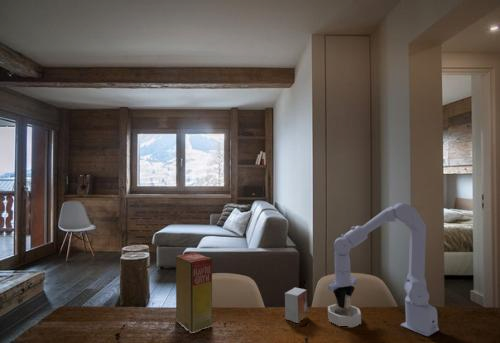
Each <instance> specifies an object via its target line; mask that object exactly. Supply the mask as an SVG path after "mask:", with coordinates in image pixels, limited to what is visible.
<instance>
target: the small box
mask: <svg viewBox="0 0 500 343" xmlns="http://www.w3.org/2000/svg"><path fill="white" fill-rule="evenodd" d="M284 312H285V314H284V316H285V319H287V320H291V321H293V322H296V323H299V322H300V321H301V320H303V319H304V318H305V317H306V316H308V290H307V289H305V288H299V287H293V288H292V289H290V290H288V291H286V292H284ZM305 319H306V318H305ZM305 319H304V320H305ZM304 320H303V321H304ZM300 323H301V322H300ZM300 323H299V324H300Z"/></svg>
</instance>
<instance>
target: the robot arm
mask: <svg viewBox="0 0 500 343" xmlns="http://www.w3.org/2000/svg"><path fill="white" fill-rule="evenodd" d="M396 219H397V220H399V221H400V222H402V223H403V224H404V225H405V226H406V227H407V228H408V229H409V248H408V249H409V250H408V252H409V253H408V254H409V255H408V273H407V274H406V280H405V282H404V284H403V290H404V291H405V293H406V296H405V298H404V304H405V305H404V307H405V308H404V310H405V322H402V323H401V324H400V326H401V327H403V328H406V329H408V330H410V331H413V332H415V333H418V334H420V335H423V336H426V337H430V336H431V335H433V334H434V333H436V332H438V331H440V328H439V325H438V324H439V323H438V310H437V308H436V307H434V306H432V305H431V304H430V303H429V300H430V293H429V291H428V290H427V285H428V284H427V281H426V275H425V274H426V273H425V271H426V269H425V268H426V241H427V226H426V225H427V224H425V221H424V220H423V218H422V217H421V215H420V214H419V212H418V210H417V209H416V208H414V207H413V206H412V205H410V204H407V203H404V202H399V201H398V202H396V203H394V204H393V205H392V206H388V207H387V208H385V209H384V210H382V211H380V212H379V213H378V214H377V215H376V216H374V217H372V218H371V219H370V220H368V221H367V222H366V223H365V224H364V225H356V226H354V225H353V226H351V227H350V230H349V231H347V232H346V233H342V234H341V235H340V237H337V238H336V239H335V240H334V243H333V249H334V279H333V281H332V282H331V283H329V284H327V291H329V292H333V294H334V296H335V300H336V299H337V302H338V306H339V307H341V308H344V304H345V295H346V294H347V295H349V296H350V298H351V299H352V295H353V293H354V292H355V286H352V285H357V284H358V278H355V277H352V276H351V273H352V272H351V258H350V251H351V250H352V249H354V248H355V247H357V246H358V245H359V244H361V243H363V242H364V241H365V240H367V239H368V235H369V233H371V232H373V231H374V230H376V229H377V228H379V227H381V226H382V225H384V224H385V223H388V222H397V220H396Z"/></svg>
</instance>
